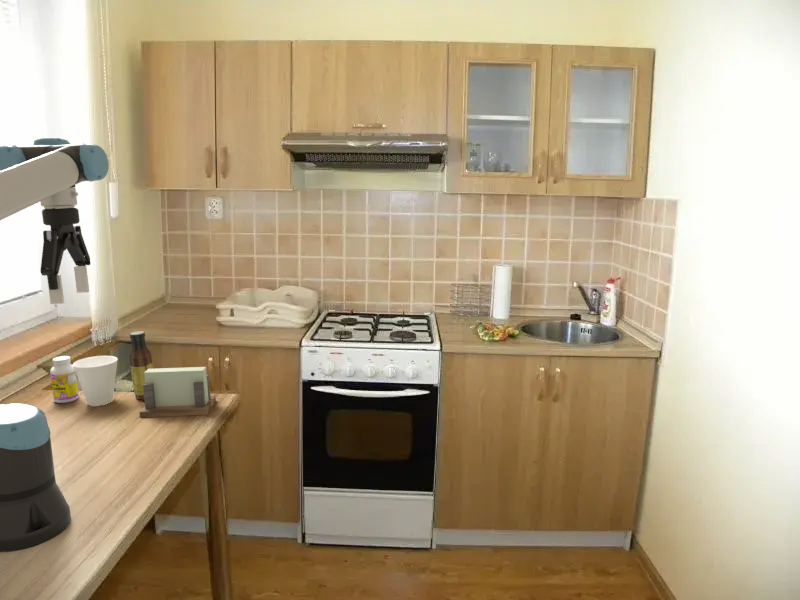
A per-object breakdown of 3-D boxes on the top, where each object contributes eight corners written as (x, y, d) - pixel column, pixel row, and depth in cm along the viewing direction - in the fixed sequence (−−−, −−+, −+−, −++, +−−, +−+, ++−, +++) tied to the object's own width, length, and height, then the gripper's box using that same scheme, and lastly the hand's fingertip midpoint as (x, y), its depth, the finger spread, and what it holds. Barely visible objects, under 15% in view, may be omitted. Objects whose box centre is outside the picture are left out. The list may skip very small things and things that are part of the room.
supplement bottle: (48, 402, 192) (43, 360, 189) (66, 395, 198) (61, 354, 195) (66, 404, 189) (61, 362, 187) (84, 397, 196) (79, 355, 193)
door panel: (205, 404, 183) (202, 370, 181) (147, 406, 182) (144, 372, 180) (208, 400, 186) (206, 366, 184) (151, 402, 185) (148, 368, 183)
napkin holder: (206, 414, 179) (204, 385, 178) (140, 417, 179) (136, 387, 177) (215, 400, 190) (213, 372, 188) (153, 402, 189) (150, 374, 188)
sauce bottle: (152, 391, 199) (146, 328, 195) (160, 397, 194) (153, 332, 190) (130, 396, 195) (123, 332, 191) (137, 402, 190) (130, 336, 186)
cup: (112, 392, 199) (107, 353, 197) (129, 401, 191) (124, 360, 189) (71, 402, 191) (66, 361, 189) (87, 412, 183) (82, 370, 180)
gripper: (50, 210, 139) (62, 308, 143) (98, 203, 163) (107, 287, 167) (14, 210, 138) (27, 309, 143) (67, 204, 163) (77, 288, 167)
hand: (70, 297), depth 155 cm, fingers open, 13 cm apart
